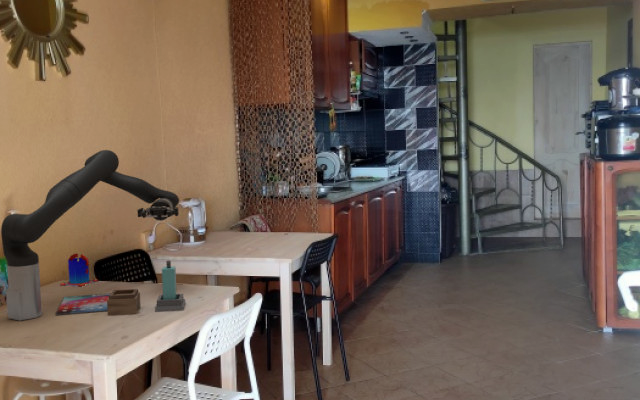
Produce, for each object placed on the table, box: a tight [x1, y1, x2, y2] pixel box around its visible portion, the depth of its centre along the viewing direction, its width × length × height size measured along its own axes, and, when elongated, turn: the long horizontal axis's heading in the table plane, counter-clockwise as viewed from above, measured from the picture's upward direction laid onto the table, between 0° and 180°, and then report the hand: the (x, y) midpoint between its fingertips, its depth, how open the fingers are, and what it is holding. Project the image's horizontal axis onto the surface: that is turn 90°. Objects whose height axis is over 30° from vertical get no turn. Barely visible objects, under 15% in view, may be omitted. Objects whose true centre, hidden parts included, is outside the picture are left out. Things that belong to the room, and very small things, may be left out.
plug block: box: [161, 259, 178, 300], centre depth 214 cm, size 4×4×14 cm
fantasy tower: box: [59, 253, 100, 288], centre depth 251 cm, size 12×12×12 cm
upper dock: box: [107, 288, 142, 316], centre depth 211 cm, size 9×9×6 cm
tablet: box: [55, 292, 112, 316], centre depth 221 cm, size 19×25×1 cm
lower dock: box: [154, 293, 186, 313], centre depth 215 cm, size 9×9×4 cm
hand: (156, 214), depth 224 cm, fingers open, 8 cm apart
